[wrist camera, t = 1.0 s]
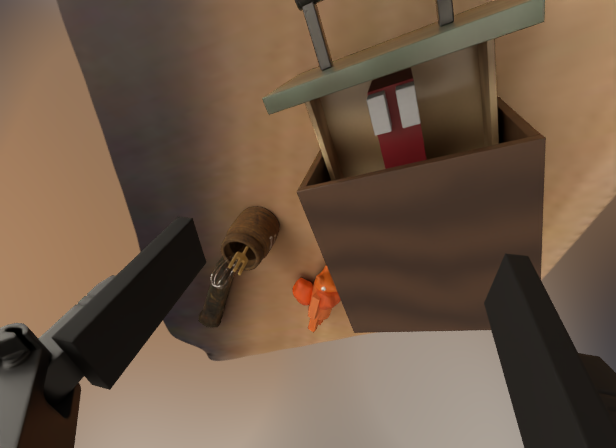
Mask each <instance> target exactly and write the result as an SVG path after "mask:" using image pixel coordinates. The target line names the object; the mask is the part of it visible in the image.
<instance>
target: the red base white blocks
mask: <svg viewBox="0 0 616 448" xmlns="http://www.w3.org/2000/svg"><path fill="white" fill-rule="evenodd" d="M367 94H368V97H367V100H366V101H367V105H368V109H369V113H370V117H371V122H372V126H373V130H374V134H375V136H376V135H377V136H378V140H379V144H380V148H381V152H382V156H383V161H384V165H385V169H387V168H392V167H396V166H401V165H405V164H410V163H414V162H419V161H423V160H427V158H426V152H425V146H424V140H423V134H422V128H421V121H420V115H419V109H418V103H417V97H416V91H415V85H414V80H413V75H412V70H411V68H408V69H405V70H402V71H399V72H396V73H393V74H390V75H387V76H384V77H381V78H378V79H375V80H372V82H371V84H370V87H369V90H368V92H367Z"/></svg>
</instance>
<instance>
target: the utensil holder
mask: <svg viewBox="0 0 616 448" xmlns="http://www.w3.org/2000/svg"><path fill="white" fill-rule="evenodd" d="M278 233H279V223H278V221H277V219H276V217H275V216H274V215H273V214H272V213H271V212H269V211H268V210H266V209H264V208H261V207H250V208H247V209H246V210H244V211H243V212H242V213H241V214H240V215H239V216H238V218H237V219H236V220H235V221H234V223H233V224H232V225H231V227H230V228H229V230H228V232H227V235H226V238H225V239H224V241H223V243H222V245H221V254H222V256H223V258H224V260H225V262H227V263H228V264H229V266H228V267H227V268H231V267H232V266H233V267H234V268H233V270H232V271H234V272H236V271H237V269H239V272H238V275H241V273H242V271H243V270H245V271H247V270H252V269H254V268H256V267H257V266H258V265H259V264H260V262H261V261H262V259H263V258H265V257H266V256H267V254H268V253H269V251H270V250H271V248H272V246H273V244H274V242H275V240H276V238H277V236H278ZM224 260H223V261H224ZM225 262H224V263H225ZM224 263H223V264H224ZM219 264H220V263H219ZM223 264H222V265H223ZM222 265H221V266H220V267H219V268H221V267H222ZM216 268H217V267H216ZM219 270H220V269H219ZM219 270H218V271H219ZM214 271H215V270H214ZM225 271H226V270H225ZM225 271H224V272H225ZM227 271H228V270H227ZM216 272H217V271H216ZM217 273H218V272H217ZM217 273H216V274H217ZM231 273H232V272H231ZM212 274H213V273H212ZM225 274H226V273H225ZM233 274H234V273H233ZM235 274H236V273H235ZM214 275H215V274H214ZM222 275H223V274H222ZM230 275H231V274H230ZM234 276H235V275H234ZM211 277H212V275H211ZM215 277H216V276H215ZM223 277H224V276H223ZM223 277H222V278H223ZM229 277H230V276H229ZM231 277H232V276H231ZM212 278H213V277H212ZM220 278H221V277H220ZM220 278H219V279H220ZM232 279H233V278H232ZM227 280H228V279H227ZM229 280H230V279H229ZM229 280H228V281H229ZM220 281H221V280H220ZM220 281H219V282H220ZM228 281H227V282H228ZM217 282H218V281H217ZM227 282H225V283H224V284H226V283H227ZM230 282H231V281H230ZM211 284H212V285H213V286H214V287H216V288H219V287H220V286H215V285H216V284H215V279H214V284H215V285H214V284H213V283H212V279H211ZM222 286H223V285H222ZM227 286H228V285H227ZM220 288H221V287H220ZM223 288H224V287H223Z"/></svg>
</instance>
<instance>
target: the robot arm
mask: <svg viewBox="0 0 616 448" xmlns="http://www.w3.org/2000/svg"><path fill="white" fill-rule="evenodd" d="M205 264H206V260H205V257H204V254H203V250H202V247H201V244H200V241H199V238H198V234H197V231H196V228H195V225H194V222H193V218H184V217H177V218H176V219H175V220H174V221H173V222H172V223H171V224H170V225H169V226H168V227H167V228H166V229H165V230H164V231H163V232H162V233H161V234H160V235H158V236H157V237H156V238H155V239H154V240H153V241H152V242H151V243H150V244H149V245H148V246H147V247H146V248H145V249H144V250H143V251H142V252H141V253H139V254H138V255H137V256H136V257H135V258H134V259H133V260H132V261H131V262H130V263H129V264H128V265H127V266H126V267H125V268H124V269H123V270H122V271H120V272H119V273H118V274H117V275H116V276H114V275H112V276H110V277H109V278H107V279H106V280H104V281H102V282H100V283H99V284H98V285H96V286H95V287H94V288H93V289H92V290H91V291H90V292H89V293H88V295H87V296H84V297H83V298H82V299H81V300H80V301H79V302H78V304H77V305H75V306H74V307H73V308H71V309H70V310H69V311H68V312H67V313H66V314H65V315H64V316H63V317H62V318H61V319H59V320H58V321H57V322H56V323H55V324H54V325H53V326H52V327H51V328H50V329H49V330H48V331H47V332H45V333H44V334H43V335H42V336H41V337H40V338H37V337H36V336H35V335H34V333H33V332H32V331H31V330H30V329H29V328H28V327H27V326H26V325H25V324H22V323H14V324H10V325H6V326H4V327H1V328H0V448H74V443H75V435H76V426H77V419H78V411H79V401H80V394H81V387H80V384H79V381H80V380H81V379H82V378H83V377H84V376H85V377H86V378H87V379H88V381H89V382H90V383H91V384H92V385H95V386H99V387H102V388H106V389H111V388H112V386H113V385H114V384H115V382H116V381H117V380H118V379H119V377H120V376H121V375H122V373H123V372H124V370H125V369H126V368H127V367H128V365H129V364H130V362H131V361H132V360H133V359H134V357H135V356H136V355H137V353H138V352H139V351H140V349H141V348H142V347H143V345H144V344H145V343H146V341H147V340H148V339H149V338H150V336H151V335H152V333H153V332H154V331H155V330H156V328H157V327H158V326H159V324H160V323H161V322H162V320H163V319H164V318H165V316H166V315H167V314H168V312H169V311H170V310H171V309H172V307H173V306H174V305H175V303H176V302H177V301H178V299H179V298H180V297H181V295H182V294H183V293H184V291H185V290H186V289H187V287H188V286H189V285H190V283H191V282H192V281H193V279H194V278H195V277H196V275H197V274H198V273H199V272H200V270H201V269H202V268H203V266H204V265H205ZM484 305H485V309H486V312H487V316H488V320H489V323H490V327H491V330H492V333H493V337H494V341H495V344H496V348H497V351H498V355H499V359H500V362H501V366H502V369H503V373H504V377H505V380H506V384H507V387H508V391H509V394H510V398H511V401H512V404H513V409H514V412H515V416H516V419H517V423H518V427H519V430H520V434H521V437H522V441H523V444H524V448H616V373H615V372H614V371H613V370H612V369H611V368H610V367H609V366H608V365H607V364H606V363H605V362H604V361H603V360H602V359H601V358H600V357H598V356H592V355H586V354H581V353H578V352H577V350H576V348H575V346H574V344H573V342H572V340H571V338H570V336H569V334H568V333H567V331H566V329H565V327H564V325H563V323H562V321H561V319H560V317H559V315H558V313H557V311H556V309H555V307H554V305H553V303H552V301H551V300H550V297H549V295H548V293H547V291H546V289H545V288H544V286H543V284H542V282H541V280H540V278H539V276H538V274H537V272H536V270H535V268H534V266H533V264H532V262H531V260H530V258H529V256H524V255H515V254H506V253H505V255H504V257H503V260H502V262H501V264H500V267H499V269H498V271H497V274H496V276H495V278H494V281H493V283H492V285H491V288H490V290H489V292H488V295H487V297H486V299H485V302H484Z"/></svg>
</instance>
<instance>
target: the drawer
mask: <svg viewBox="0 0 616 448" xmlns="http://www.w3.org/2000/svg"><path fill="white" fill-rule="evenodd" d="M321 1H323V0H295V2H296V4H297V7H298V8H299V10H300V11H302V10H303V12H304V16H305V19H306V22H307V26H308V29H309V32H310V36H311V39H312V42H313V46H314V49H315V52H316V56H317V59H318V62H319V66H320V67H317V68H314V69H312V70H309V71H307V72H304V73H301V74H299V75H297V76H296V77H294V78H293V79H291V80H290V81H288V82H287V83H285V84H284V85H282V86H280V87H279V88H277V89H276V90H274V91H273V92H271V93H270V94H268V95H267V96H265V97H264V98H262V99H263V102H264V104H265V107H266V109H267V112H268V114H269V115H270V114H273V113H276V112H279V111H281V110H284V109H287V108H290V107H293V106H296V105H299V104H302V103H305V105H306V108H307V111H308V114H309V116H310V119H311V122H312V125H313V128H314V131H315V134H316V137H317V140H318V143H319V146H320V149H321V152H322V155H323V158H324V161H325V163H326V166H327V169H328V172H329V175H330V178H331V181H333V180H338V179H342V178H347V177H351V176H356V175H360V174H365V173H369V172H374V171H378V170H383V169H385V165H384V161H383V156H382V152H381V148H380V144H379V140H378V136H377V135H376V136H375V134H374V130H373V126H372V122H371V117H370V113H369V109H368V105H367V101H366V100H367V97H368V94H367V92H368V90H369V87H370V84H371V82H372V80H375V79H378V78H381V77H384V76H387V75H390V74H393V73H396V72H399V71H402V70H405V69H408V68H411V70H412V75H413V80H414V85H415V91H416V97H417V103H418V109H419V115H420V121H421V128H422V134H423V140H424V146H425V152H426V158H427V160H428V159H432V158H437V157H441V156H446V155H451V154H455V153H460V152H464V151H469V150H473V149H478V148H482V147H487V146H491V145H496V144H499V133H498V109H497V85H496V61H495V38H498V37H501V36H504V35H507V34H509V33H512V32H515V31H518V30H521V29H524V28H527V27H530V26H533V25H536V24H539V23H542V22H544V14H545V0H494V1H491V2H488V3H486V4H483V5H480V6H478V7H475V8H473V9H470V10H467V11H465V12H462V13H459V14H457V15H454V13H453V2H452V0H436V8H437V17H438V22H436V23H433V24H430V25H428V26H425V27H423V28H420V29H417V30H415V31H412V32H409V33H407V34H404V35H401V36H399V37H396V38H394V39H391V40H388V41H386V42H383V43H380V44H378V45H375V46H372V47H370V48H367V49H365V50H362V51H359V52H357V53H354V54H351V55H349V56H346V57H343V58H341V59H338V60H336V61H333V62H332V58H331V55H330V51H329V48H328V44H327V40H326V37H325V33H324V30H323V26H322V23H321V19H320V15H319V12H318V8H317V5H316V4H317V3H319V2H321Z"/></svg>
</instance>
